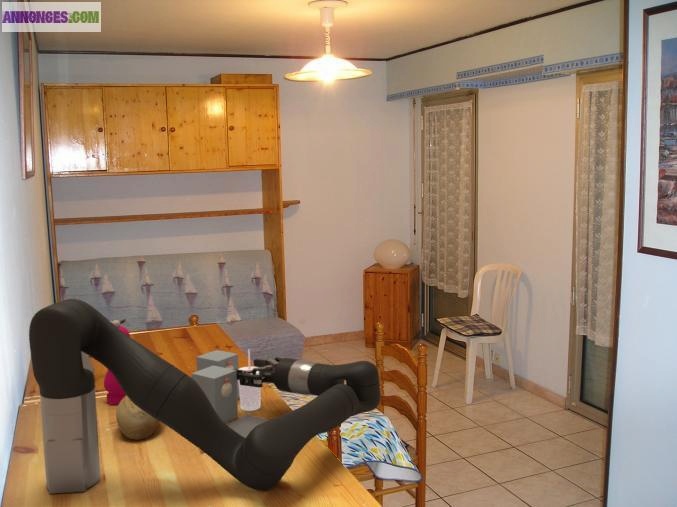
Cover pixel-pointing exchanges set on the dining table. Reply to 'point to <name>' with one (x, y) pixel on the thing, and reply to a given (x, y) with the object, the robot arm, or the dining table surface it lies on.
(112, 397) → the pepper mill
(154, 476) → the dining table surface
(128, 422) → the bread roll
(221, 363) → the far cabinet
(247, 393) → the beverage cup
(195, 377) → the near cabinet dock
